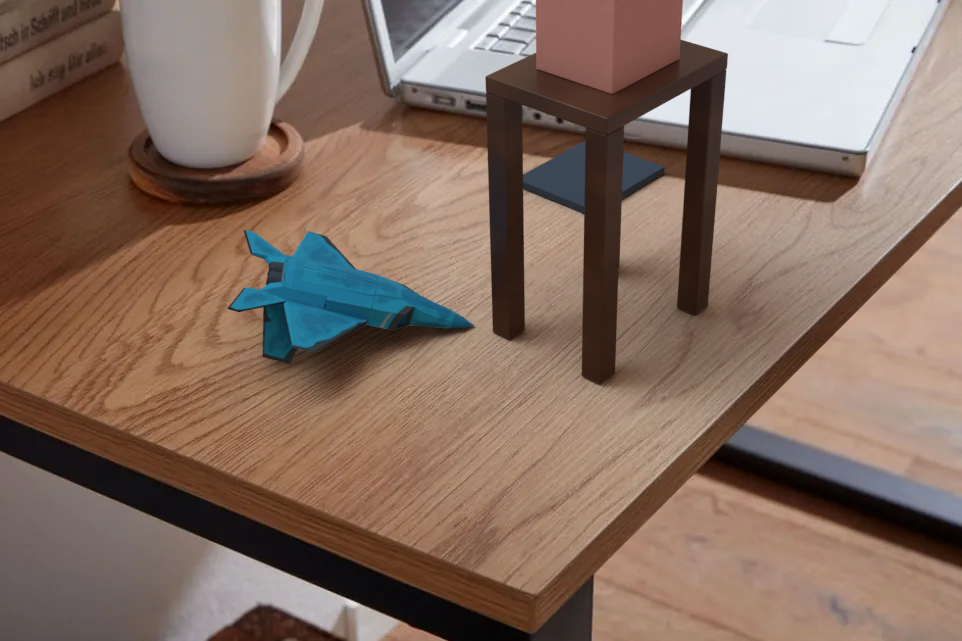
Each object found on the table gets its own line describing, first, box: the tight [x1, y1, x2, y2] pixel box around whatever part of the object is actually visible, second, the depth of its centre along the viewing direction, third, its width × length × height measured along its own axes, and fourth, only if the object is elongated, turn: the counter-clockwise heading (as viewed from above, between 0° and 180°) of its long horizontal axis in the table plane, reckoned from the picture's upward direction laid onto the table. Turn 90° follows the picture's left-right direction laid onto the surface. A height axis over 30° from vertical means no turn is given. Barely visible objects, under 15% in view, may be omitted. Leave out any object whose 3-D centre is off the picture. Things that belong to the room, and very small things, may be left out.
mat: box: [523, 140, 666, 214], centre depth 81 cm, size 6×7×1 cm
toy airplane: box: [226, 229, 475, 365], centre depth 68 cm, size 12×10×4 cm
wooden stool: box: [484, 39, 729, 385], centre depth 65 cm, size 7×9×14 cm
